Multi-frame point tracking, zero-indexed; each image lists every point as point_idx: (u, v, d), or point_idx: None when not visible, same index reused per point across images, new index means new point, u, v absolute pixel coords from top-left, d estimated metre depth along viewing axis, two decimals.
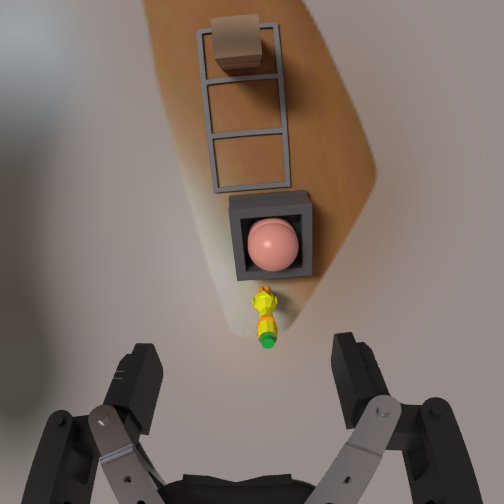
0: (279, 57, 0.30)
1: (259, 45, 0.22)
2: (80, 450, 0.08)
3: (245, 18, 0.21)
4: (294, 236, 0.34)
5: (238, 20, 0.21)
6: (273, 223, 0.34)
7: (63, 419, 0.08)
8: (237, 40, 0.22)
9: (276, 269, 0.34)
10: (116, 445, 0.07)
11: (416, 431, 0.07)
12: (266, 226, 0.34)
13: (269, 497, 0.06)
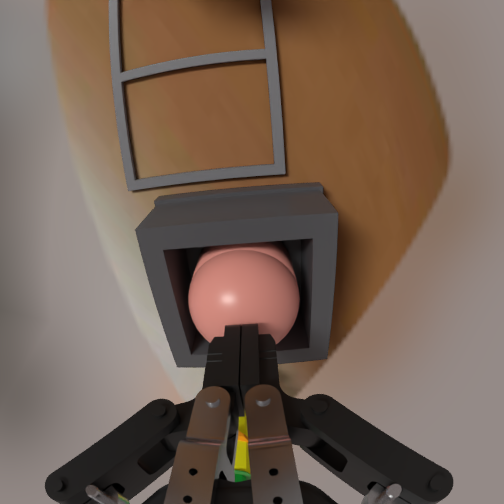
0: None
1: None
2: (167, 444, 0.09)
3: None
4: (290, 282, 0.15)
5: None
6: (241, 252, 0.15)
7: (164, 409, 0.09)
8: None
9: None
10: (208, 433, 0.08)
11: (297, 426, 0.08)
12: (225, 260, 0.14)
13: None
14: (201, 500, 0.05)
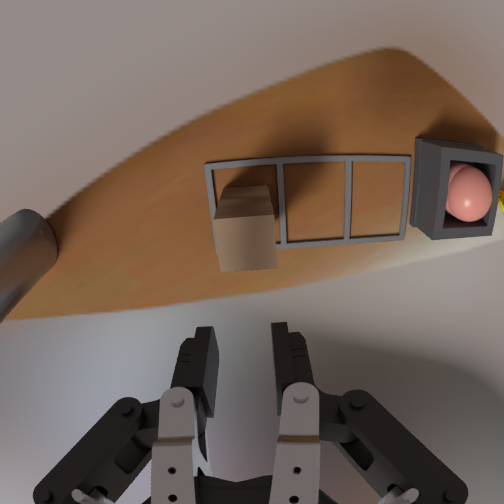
0: (254, 161, 0.28)
1: (261, 217, 0.21)
2: (139, 441, 0.09)
3: (220, 234, 0.22)
4: (465, 172, 0.23)
5: (223, 242, 0.22)
6: (449, 192, 0.25)
7: (131, 407, 0.09)
8: (252, 243, 0.22)
9: (491, 199, 0.23)
10: (178, 432, 0.08)
11: (335, 422, 0.08)
12: (451, 200, 0.25)
13: (269, 497, 0.06)
14: (186, 497, 0.05)
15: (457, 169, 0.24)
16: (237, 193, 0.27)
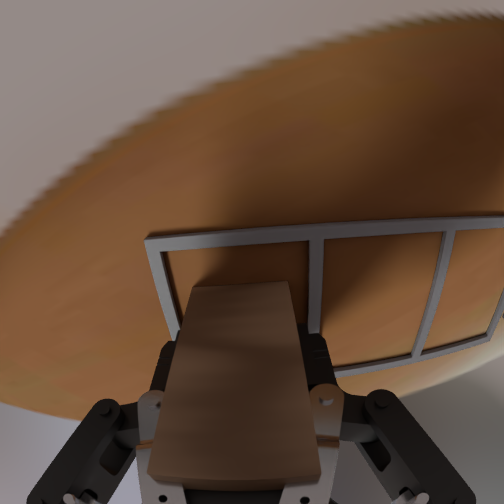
0: (258, 235, 0.12)
1: (283, 480, 0.06)
2: (120, 441, 0.08)
3: None
4: None
5: None
6: None
7: (109, 408, 0.09)
8: None
9: None
10: None
11: (360, 422, 0.08)
12: None
13: (269, 497, 0.06)
14: (175, 496, 0.05)
15: None
16: (219, 319, 0.11)
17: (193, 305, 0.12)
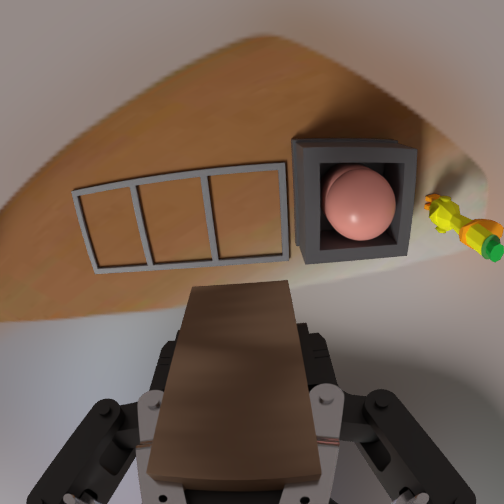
0: (110, 185, 0.26)
1: (283, 480, 0.06)
2: (120, 442, 0.08)
3: None
4: (347, 177, 0.21)
5: None
6: (326, 204, 0.23)
7: (109, 408, 0.09)
8: None
9: (391, 211, 0.21)
10: None
11: (360, 422, 0.08)
12: (329, 215, 0.23)
13: (269, 497, 0.06)
14: (175, 496, 0.05)
15: (340, 174, 0.22)
16: (219, 319, 0.11)
17: (193, 305, 0.12)
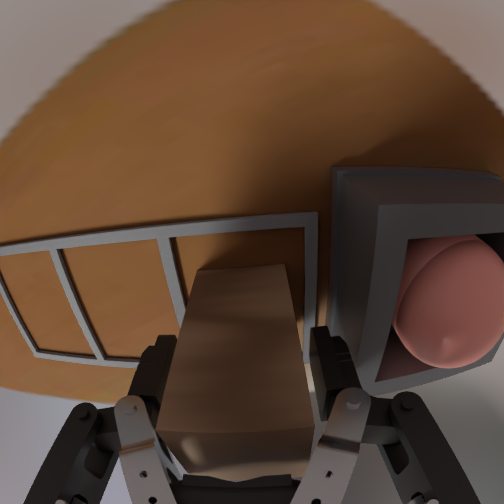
0: (24, 246, 0.14)
1: (279, 433, 0.07)
2: (101, 444, 0.08)
3: (180, 447, 0.08)
4: (451, 265, 0.09)
5: (190, 456, 0.08)
6: (401, 311, 0.11)
7: (87, 412, 0.08)
8: (257, 459, 0.08)
9: None
10: (138, 438, 0.08)
11: (387, 424, 0.08)
12: (404, 332, 0.11)
13: (269, 497, 0.06)
14: (164, 496, 0.05)
15: (432, 251, 0.10)
16: (222, 297, 0.13)
17: (198, 286, 0.14)
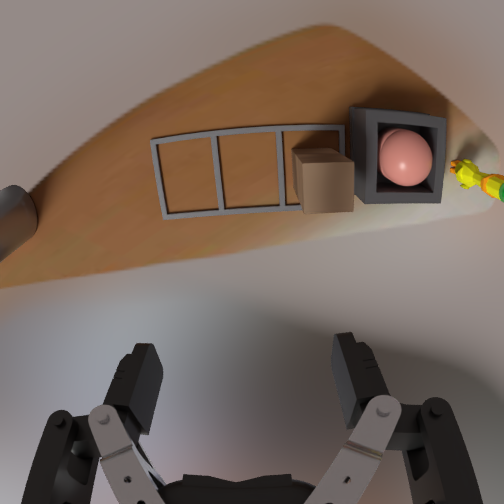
0: (191, 135, 0.30)
1: (343, 164, 0.23)
2: (80, 450, 0.08)
3: (307, 177, 0.24)
4: (397, 134, 0.25)
5: (310, 185, 0.24)
6: (381, 155, 0.27)
7: (63, 419, 0.08)
8: (335, 186, 0.24)
9: (430, 161, 0.25)
10: (116, 445, 0.07)
11: (416, 431, 0.07)
12: (383, 163, 0.27)
13: (269, 497, 0.06)
14: (152, 498, 0.05)
15: (390, 133, 0.26)
16: (308, 151, 0.29)
17: (295, 150, 0.30)
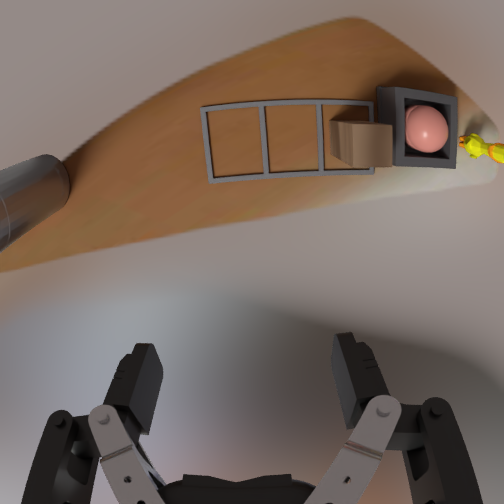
0: (240, 104, 0.33)
1: (384, 126, 0.26)
2: (80, 450, 0.08)
3: (356, 135, 0.26)
4: (419, 108, 0.28)
5: (358, 142, 0.26)
6: (407, 125, 0.29)
7: (63, 419, 0.08)
8: (377, 145, 0.26)
9: (447, 131, 0.27)
10: (116, 445, 0.07)
11: (416, 431, 0.07)
12: (409, 132, 0.29)
13: (269, 497, 0.06)
14: (152, 498, 0.05)
15: (413, 108, 0.29)
16: None
17: None
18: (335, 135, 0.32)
